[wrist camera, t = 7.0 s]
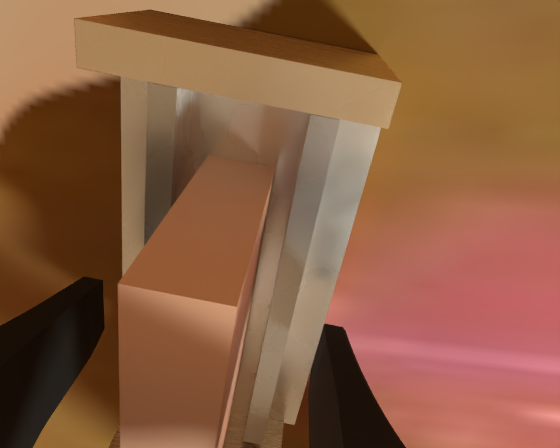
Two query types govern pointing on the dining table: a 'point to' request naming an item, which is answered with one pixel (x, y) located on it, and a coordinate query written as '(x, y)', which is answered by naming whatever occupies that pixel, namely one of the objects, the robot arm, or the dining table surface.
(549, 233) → the dining table surface
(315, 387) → the robot arm
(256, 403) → the door track
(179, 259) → the door panel
